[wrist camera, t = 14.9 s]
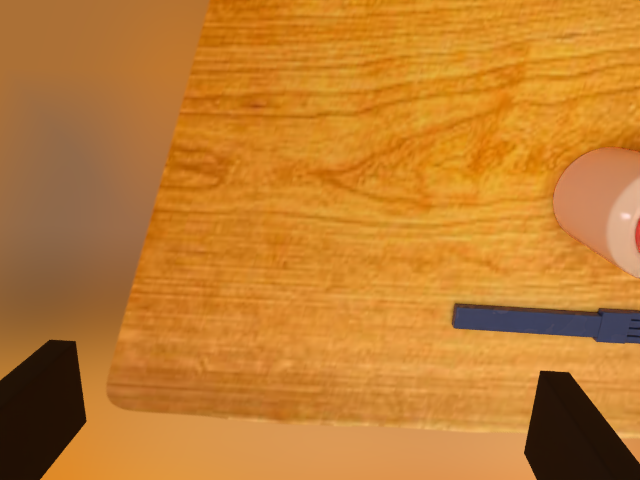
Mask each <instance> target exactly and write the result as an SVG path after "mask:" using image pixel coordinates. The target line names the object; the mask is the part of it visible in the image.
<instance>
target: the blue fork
mask: <svg viewBox="0 0 640 480" xmlns="http://www.w3.org/2000/svg"><path fill="white" fill-rule="evenodd" d="M452 325H453V327H454V328H457V329H472V330H487V331H503V332H518V333H534V334H549V335H565V336H580V337H593V339H594V340H595V341H597V342H608V343H639V344H640V311H633V310H616V309H599V311H598V313H595V312H579V311H563V310H547V309H531V308H515V307H499V306H483V305H467V304H455V307H454V315H453V322H452Z"/></svg>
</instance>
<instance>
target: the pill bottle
mask: <svg viewBox="0 0 640 480" xmlns="http://www.w3.org/2000/svg"><path fill="white" fill-rule="evenodd" d="M553 208H554V214H555V216H556V219H557V221H558V223H559V225H560V226H561V227H562V229H563V230H564V231H565V232H566V233H568V234H569V235H570V236H571V237H573V238H574V239H576V240H577V241H579V242H580V243H582V244H584V245H585V246H587V247H588V248H590V249H591V250H593V251H594V252H596V253H597V254H599V255H600V256H602V257H603V258H605V259H606V260H608V261H609V262H611V263H613V264H614V265H616V266H617V267H619V268H620V269H622V270H623V271H625V272H627V273H629V274H630V275H632V276H634V277H637V278H640V151H636V150H631V149H626V148H619V147H606V148H600V149H596V150H593V151H590V152H588V153H586V154H584V155H582V156H581V157H579V158H578V159H576V160H575V161H574V162H573V163H572V164H571V165H570V166H569V167H568V168H567V169H566V170H565V171H564V173H563V174H562V175H561V177H560V179H559V181H558V183H557V185H556V188H555V192H554V196H553Z"/></svg>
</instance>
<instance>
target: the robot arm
mask: <svg viewBox="0 0 640 480" xmlns="http://www.w3.org/2000/svg"><path fill="white" fill-rule="evenodd" d="M85 423H86V414H85V408H84V400H83V392H82V385H81V378H80V371H79V363H78V355H77V348H76V342H75V341H62V340H49V341H48V342H47V343H45V344H44V345H43V346H42V347H40V348H39V349H38V350H37V351H36V352H34V353H33V354H32V355H31V356H30V357H28V358H27V359H26V360H25V361H23V362H22V363H21V364H20V365H19V366H17V367H16V368H15V369H14V370H13V371H11V372H10V373H9V374H8V375H7V376H5V377H4V378H3V379H2V380H0V480H40V479H41V478H42V476H43V475H44V474H45V473H46V471H47V470H48V469H49V468H50V467H51V465H52V464H53V463H54V462H55V460H56V459H57V458H58V457H59V455H60V454H61V453H62V451H63V450H64V449H65V448H66V446H67V445H68V444H69V443H70V442H71V440H72V439H73V438H74V437H75V435H76V434H77V433H78V432H79V430H80V429H81V428H82V427H83V425H84V424H85ZM524 454H525V456H526V458H527V460H528V462H529V464H530V466H531V468H532V471H533V473H534V475H535V477H536V479H537V480H640V464H639V462H638V461H637V460H636V458H635V457H634V456H633V455H632V453H631V452H630V451H629V449H628V448H627V447H626V445H625V444H624V443H623V442H622V440H621V439H620V438H619V436H618V435H617V434H616V433H615V431H614V430H613V429H612V427H611V426H610V425H609V424H608V422H607V421H606V420H605V418H604V417H603V416H602V414H601V413H600V412H599V411H598V409H597V408H596V407H595V405H594V404H593V403H592V402H591V400H590V399H589V398H588V396H587V395H586V394H585V393H584V391H583V390H582V389H581V387H580V386H579V385H578V384H577V382H576V381H575V380H574V378H573V377H572V376H571V374H570V373H569V372H555V371H540V375H539V380H538V385H537V390H536V395H535V400H534V405H533V410H532V415H531V420H530V425H529V430H528V436H527V440H526V446H525V451H524Z"/></svg>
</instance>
